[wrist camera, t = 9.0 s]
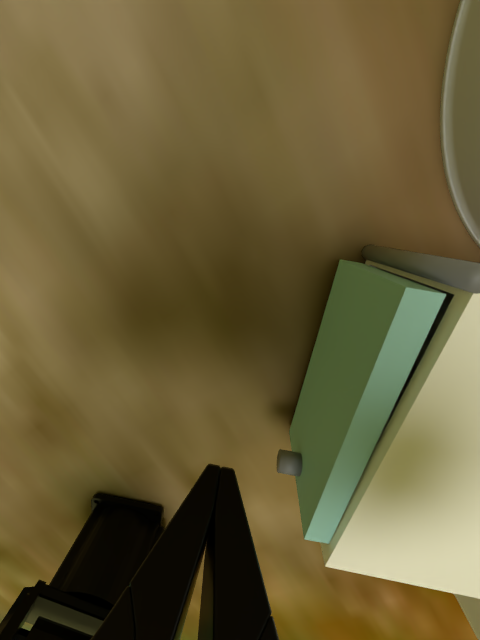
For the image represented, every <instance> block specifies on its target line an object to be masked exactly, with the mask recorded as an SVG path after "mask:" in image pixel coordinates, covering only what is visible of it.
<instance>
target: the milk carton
mask: <svg viewBox="0 0 480 640" xmlns="http://www.w3.org/2000/svg"><path fill="white" fill-rule="evenodd" d="M454 595H455V596H456V598H457V600H458V602H459V604H460V606H461V608H462V610H463V612H464V614H465V616H466V617H467V619H468V621H469V623H470V625H471V627H472V629H473V631H474V633H475V635H476V636H477V638H478V640H480V599H478V598H474V597H469V596H464V595H459V594H454Z"/></svg>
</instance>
